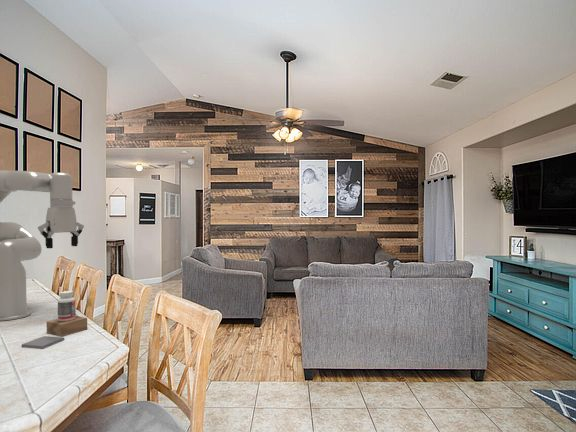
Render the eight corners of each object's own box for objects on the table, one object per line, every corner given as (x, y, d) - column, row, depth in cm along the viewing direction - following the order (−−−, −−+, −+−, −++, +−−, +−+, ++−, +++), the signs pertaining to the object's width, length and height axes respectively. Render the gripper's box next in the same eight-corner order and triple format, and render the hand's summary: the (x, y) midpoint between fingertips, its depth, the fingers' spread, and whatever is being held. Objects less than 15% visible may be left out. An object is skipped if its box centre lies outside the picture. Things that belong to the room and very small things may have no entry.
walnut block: (46, 332, 128) (46, 321, 128) (72, 325, 136) (72, 315, 136) (61, 336, 124) (61, 324, 124) (87, 329, 132) (87, 317, 132)
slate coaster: (21, 346, 114) (21, 344, 114) (44, 338, 122) (44, 336, 122) (42, 348, 112) (42, 346, 112) (64, 340, 120) (64, 337, 120)
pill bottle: (76, 320, 129) (75, 292, 129) (58, 322, 126) (57, 294, 126) (75, 316, 134) (74, 289, 134) (57, 319, 131) (57, 291, 131)
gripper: (77, 204, 156) (78, 245, 156) (32, 204, 141) (33, 248, 141) (88, 204, 152) (88, 245, 152) (43, 203, 137) (44, 249, 137)
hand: (62, 247), depth 146 cm, fingers open, 9 cm apart
